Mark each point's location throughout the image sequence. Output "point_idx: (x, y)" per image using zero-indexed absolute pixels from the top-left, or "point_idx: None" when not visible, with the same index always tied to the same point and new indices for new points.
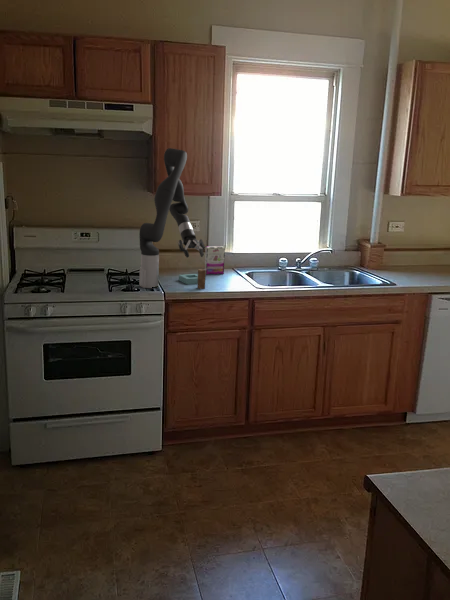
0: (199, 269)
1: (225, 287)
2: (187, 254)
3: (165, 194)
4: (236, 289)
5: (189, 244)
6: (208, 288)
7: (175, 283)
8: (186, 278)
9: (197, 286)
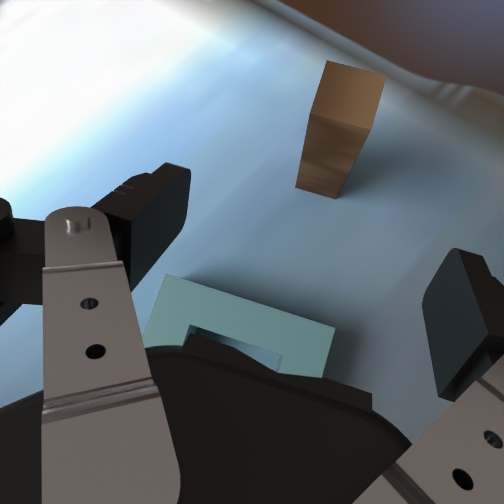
0: (362, 116)
1: (158, 101)
2: (482, 273)
3: None
4: (143, 27)
5: (379, 457)
6: (281, 141)
7: (388, 408)
8: (327, 345)
9: (336, 194)
